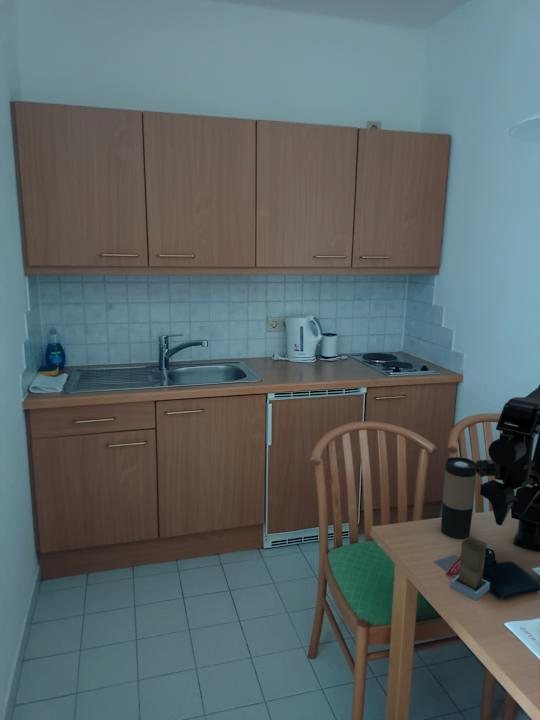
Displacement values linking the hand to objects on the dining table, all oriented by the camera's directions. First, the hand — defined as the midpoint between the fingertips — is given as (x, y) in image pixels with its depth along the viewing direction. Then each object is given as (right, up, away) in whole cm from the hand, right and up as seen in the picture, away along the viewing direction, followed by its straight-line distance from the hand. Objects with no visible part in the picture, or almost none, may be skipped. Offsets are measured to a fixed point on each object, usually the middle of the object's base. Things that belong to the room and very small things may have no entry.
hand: (509, 519), depth 121 cm
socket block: (-11, -14, -5) cm, 19 cm away
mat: (-12, -12, +3) cm, 17 cm away
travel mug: (-6, -9, +18) cm, 22 cm away
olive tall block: (-11, -13, -5) cm, 18 cm away
